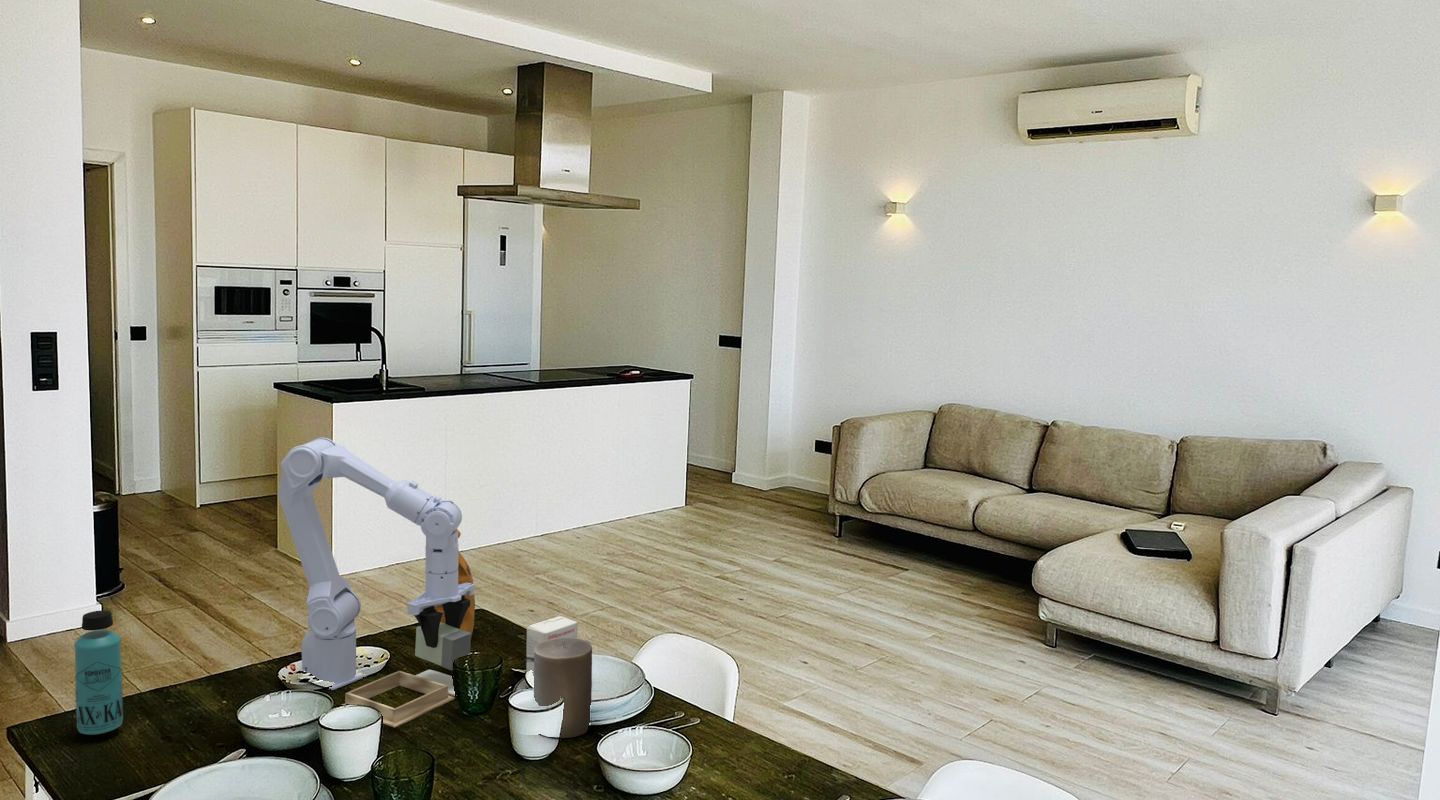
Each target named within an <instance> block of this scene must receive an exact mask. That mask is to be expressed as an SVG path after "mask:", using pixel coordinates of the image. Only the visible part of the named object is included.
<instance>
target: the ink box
mask: <svg viewBox="0 0 1440 800" xmlns="http://www.w3.org/2000/svg"><path fill="white" fill-rule="evenodd" d="M578 625H579V624H578V621H575V620H572V619H569V618H567V617H565V616H558V615H557V616H555V617H552V618H548V619H546V620H543V621H540V622H536V623H533V624H530V625H529V626H528V627H526V665H525V666H526V668H525V669H526V673H527V672H528V671H530V670H532V671H533V672H532V673H533V676H534V648H535V646H536V645H538V644H539V643H542V642H544V641H546V640H550V639H554V638H555V639H556V638H576V639H578V627H579V626H578Z"/></svg>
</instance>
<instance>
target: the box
mask: <svg viewBox="0 0 1440 800" xmlns="http://www.w3.org/2000/svg"><path fill="white" fill-rule="evenodd" d="M415 630H416V633H415V650H414V651H415V652H414V656H415V657H416V658H420V659H423V660H425V661H427V662H430V663H433V664H434V665H438V666H440V667H442V668H443V669H447V670H449V671H453V670H454V669H453V662H454V660H455V659H456V658H458V657H461V656H464V655H468V654H470V655H471V642H472V641H471V640H472V636H471V633H469V632H467V631H464V630H460V629H457V628H455V627H452V626H449V625H447V624H444V623H441V622H440V625H439V632H438V644H437V647H436V648H432V647H428V646H426V643H425V639H424V635H423V632H422V629H421V627H420V625H419V626H416V629H415Z"/></svg>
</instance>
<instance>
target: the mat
mask: <svg viewBox="0 0 1440 800" xmlns="http://www.w3.org/2000/svg"><path fill="white" fill-rule="evenodd" d="M414 675H415V674H414ZM415 676H418V677H421V678H425V679H428V680H431V681H434V682H437V683H440V684H444V685H447V686H448V695H449V696H452V697H455V691H454V686H453V679H452V675H449V674H447V673H443V672H440V671H436V670H432V669H426V670H425V671H422V672H419V673H418V674H416V675H415Z"/></svg>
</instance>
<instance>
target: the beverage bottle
mask: <svg viewBox="0 0 1440 800" xmlns="http://www.w3.org/2000/svg"><path fill="white" fill-rule="evenodd" d="M112 614H113V613H112V612H111V611H109V610H94V611H90V612H87V613H85V614H83V615H82V619H81V629H82V630H84V631H88V632H86V633H84V634H82V635H81V636H80V637H79V638H78V639H77V640H76V641H75V642H74V643H73V645H74V646H73V647H74V663H75V665H74V666H75V667H74V668H75V676H74V678H73V680H74V681H75V684H74V695H75V700H74V703H75V711H74V712H75V714H74V716H75V725H76V729H77V731H78V732H79V733H80V734H82V735H100V734H105V733H108V732H112V731H113V730H116V729H117V728H119V727H121V726H122V723H123V722H124V718H125V716H124V715H125V713H124V711H125V710H124V709H125V706H124V696H123V690H124V687H123V673H124V672H123V670H122V649H121V648H122V647H121V646H122V644H121V642H122V638H121V636H120V635H119V634H118V633H116V632H114V631H112V630H109V629H108V628H111V627H112V626H114V622H113V621H114V620H113V616H112Z"/></svg>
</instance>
